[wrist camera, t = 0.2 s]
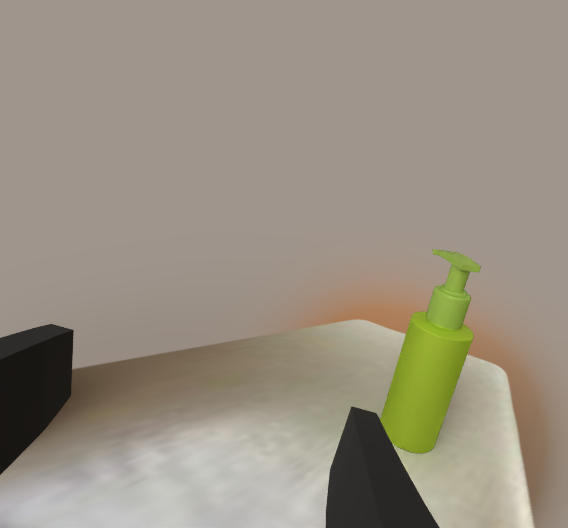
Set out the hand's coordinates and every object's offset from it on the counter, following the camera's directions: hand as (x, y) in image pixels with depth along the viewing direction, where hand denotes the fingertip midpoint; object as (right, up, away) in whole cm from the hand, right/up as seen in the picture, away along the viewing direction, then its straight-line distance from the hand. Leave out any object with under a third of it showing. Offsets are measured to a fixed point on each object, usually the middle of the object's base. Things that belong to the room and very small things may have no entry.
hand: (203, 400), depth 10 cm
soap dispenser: (+15, -15, +33) cm, 40 cm away
